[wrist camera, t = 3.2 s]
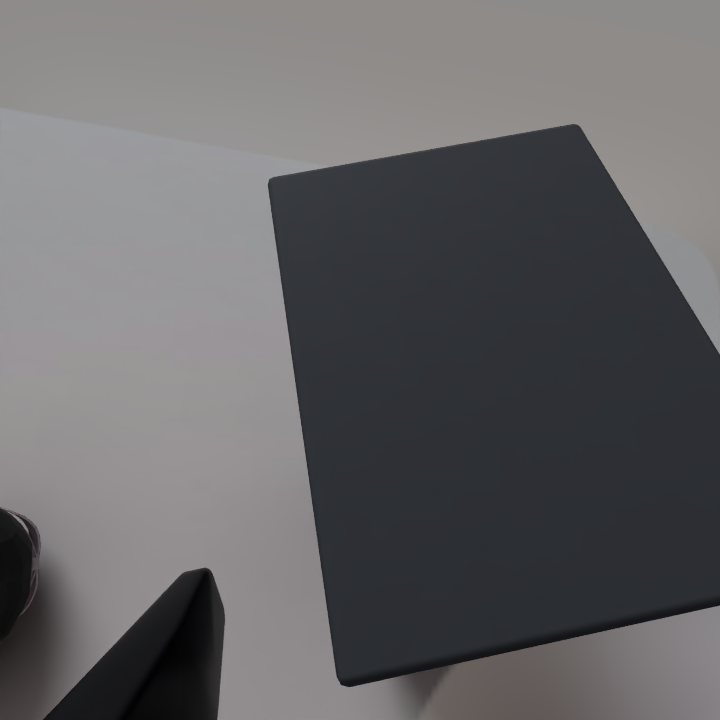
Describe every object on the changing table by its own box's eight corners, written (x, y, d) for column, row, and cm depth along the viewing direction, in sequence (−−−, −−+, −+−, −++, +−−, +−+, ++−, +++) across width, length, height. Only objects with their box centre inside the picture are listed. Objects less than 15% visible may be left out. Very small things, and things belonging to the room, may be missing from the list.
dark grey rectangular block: (510, 596, 16) (861, 575, 4) (375, 625, 15) (336, 692, 4) (458, 425, 18) (579, 119, 7) (343, 448, 18) (265, 175, 7)
